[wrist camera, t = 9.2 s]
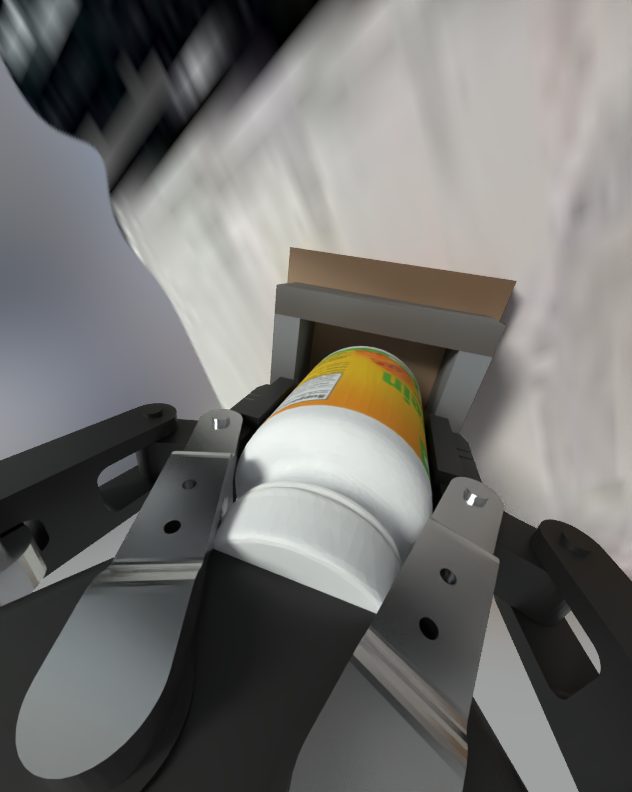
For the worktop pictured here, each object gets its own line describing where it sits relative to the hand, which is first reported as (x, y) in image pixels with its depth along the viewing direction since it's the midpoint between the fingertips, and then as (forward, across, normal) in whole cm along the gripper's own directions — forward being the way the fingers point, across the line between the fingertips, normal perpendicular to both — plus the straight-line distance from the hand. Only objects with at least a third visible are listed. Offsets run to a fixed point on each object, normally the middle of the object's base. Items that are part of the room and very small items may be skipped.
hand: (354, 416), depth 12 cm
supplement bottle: (+2, 0, 0) cm, 2 cm away
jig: (+5, 0, 0) cm, 5 cm away
